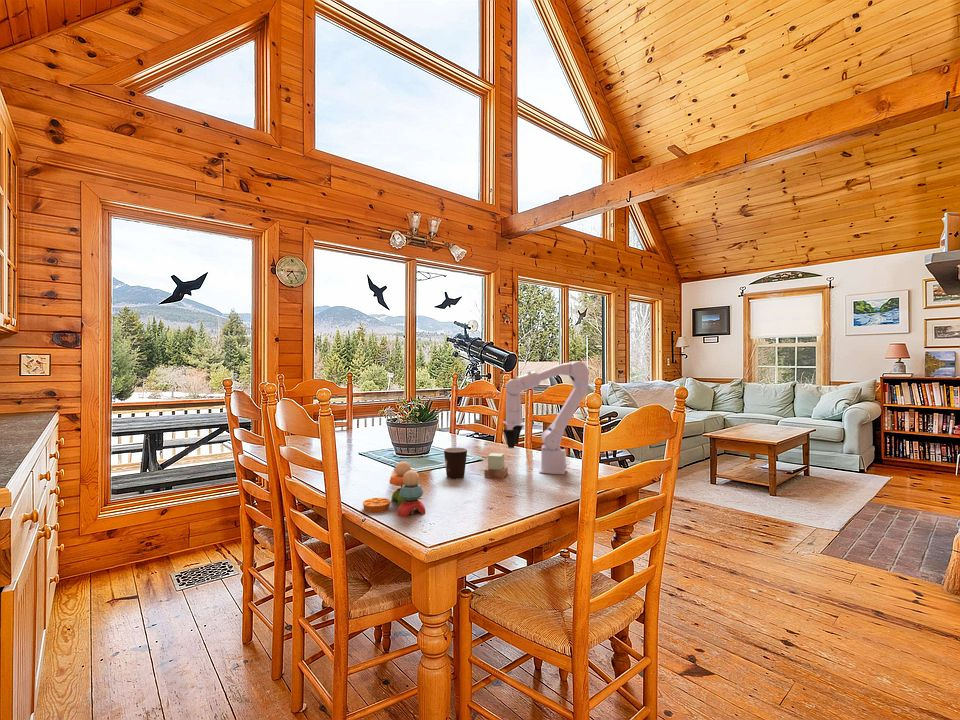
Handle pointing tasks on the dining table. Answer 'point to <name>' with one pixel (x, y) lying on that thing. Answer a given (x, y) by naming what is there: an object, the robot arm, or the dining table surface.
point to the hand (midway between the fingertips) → (513, 445)
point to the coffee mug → (455, 462)
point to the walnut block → (496, 473)
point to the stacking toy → (400, 493)
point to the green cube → (496, 461)
